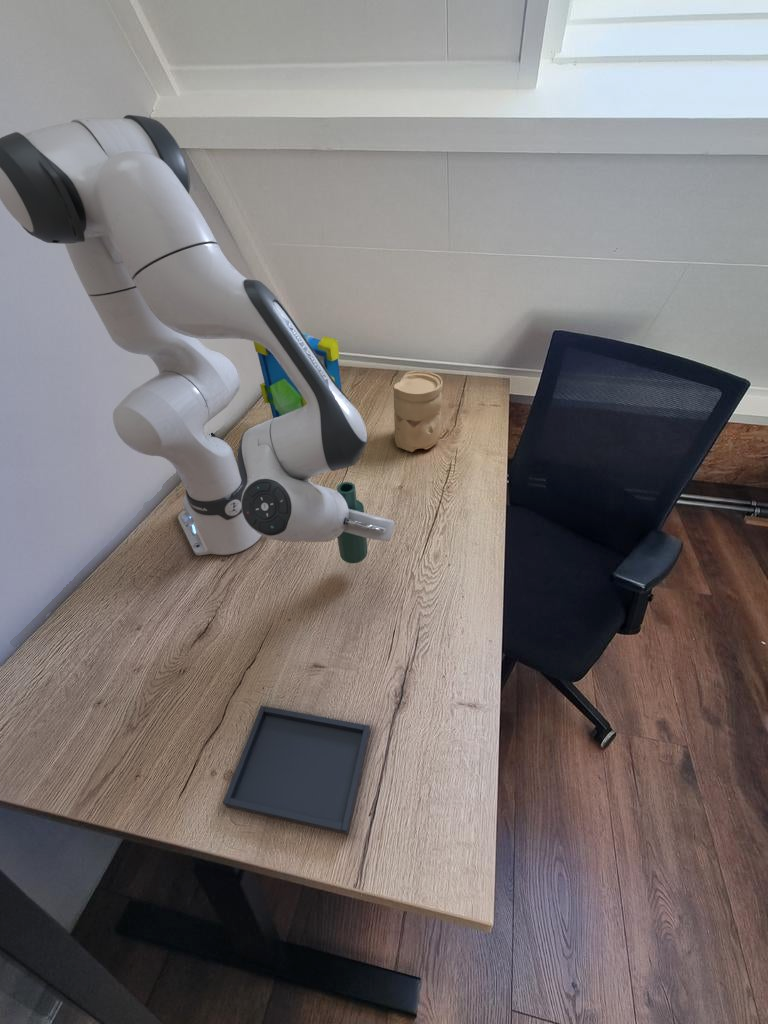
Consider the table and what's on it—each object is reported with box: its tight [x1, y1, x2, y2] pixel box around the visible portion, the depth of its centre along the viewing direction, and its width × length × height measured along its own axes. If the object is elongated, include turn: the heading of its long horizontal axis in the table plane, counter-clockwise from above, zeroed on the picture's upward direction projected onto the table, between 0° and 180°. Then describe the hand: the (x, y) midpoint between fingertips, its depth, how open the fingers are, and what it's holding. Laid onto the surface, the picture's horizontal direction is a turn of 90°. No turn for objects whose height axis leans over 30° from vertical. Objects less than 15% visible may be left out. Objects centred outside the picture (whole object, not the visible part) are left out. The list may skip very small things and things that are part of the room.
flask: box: [336, 481, 368, 564], centre depth 85 cm, size 6×6×17 cm
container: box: [392, 370, 444, 453], centre depth 121 cm, size 13×13×18 cm
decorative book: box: [252, 332, 343, 419], centre depth 119 cm, size 14×23×30 cm, turn 50°
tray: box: [222, 705, 371, 836], centre depth 66 cm, size 18×14×2 cm
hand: (351, 518), depth 85 cm, fingers closed on flask, 5 cm apart
